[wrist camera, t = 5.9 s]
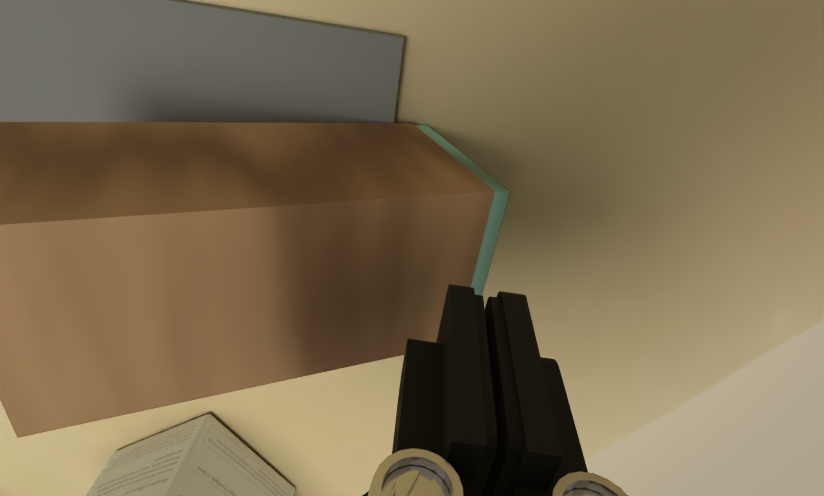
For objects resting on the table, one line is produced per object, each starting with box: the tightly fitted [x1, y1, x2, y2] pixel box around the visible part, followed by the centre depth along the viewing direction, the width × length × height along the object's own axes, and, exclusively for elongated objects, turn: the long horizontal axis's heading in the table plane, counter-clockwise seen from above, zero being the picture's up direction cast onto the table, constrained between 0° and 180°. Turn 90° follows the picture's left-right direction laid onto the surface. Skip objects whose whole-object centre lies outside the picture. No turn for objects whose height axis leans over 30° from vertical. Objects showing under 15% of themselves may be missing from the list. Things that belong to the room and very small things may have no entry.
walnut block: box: [0, 122, 510, 438], centre depth 13 cm, size 5×5×11 cm
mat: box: [0, 0, 405, 123], centre depth 16 cm, size 14×10×1 cm
